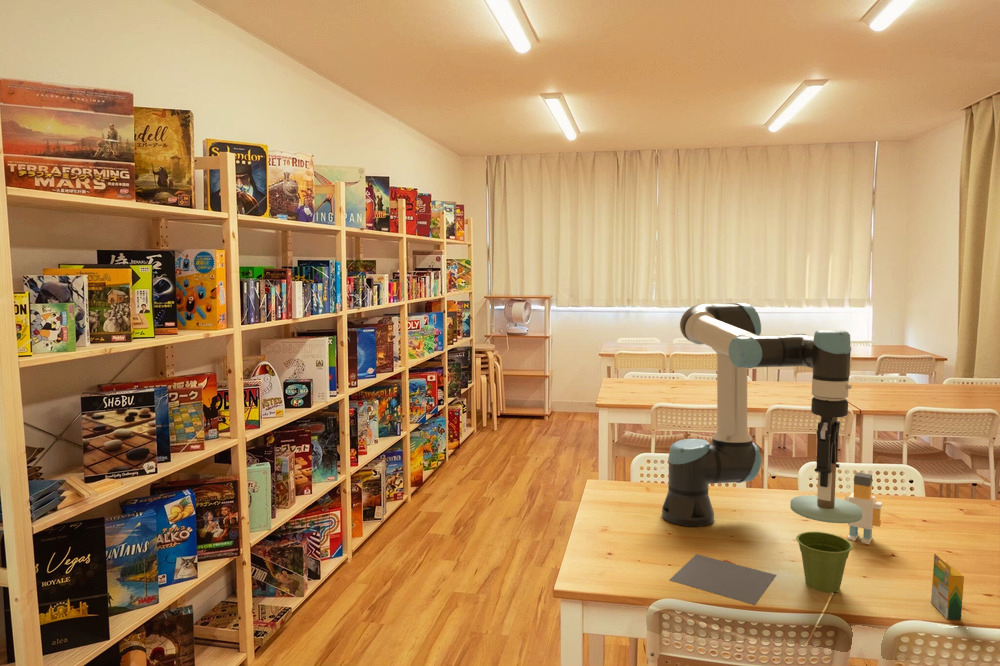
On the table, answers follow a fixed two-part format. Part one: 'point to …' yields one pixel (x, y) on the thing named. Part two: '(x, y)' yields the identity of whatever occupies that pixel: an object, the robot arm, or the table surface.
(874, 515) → the character figure
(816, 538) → the plant pot
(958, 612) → the crayon box
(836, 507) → the lid
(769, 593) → the table surface
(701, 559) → the mat
